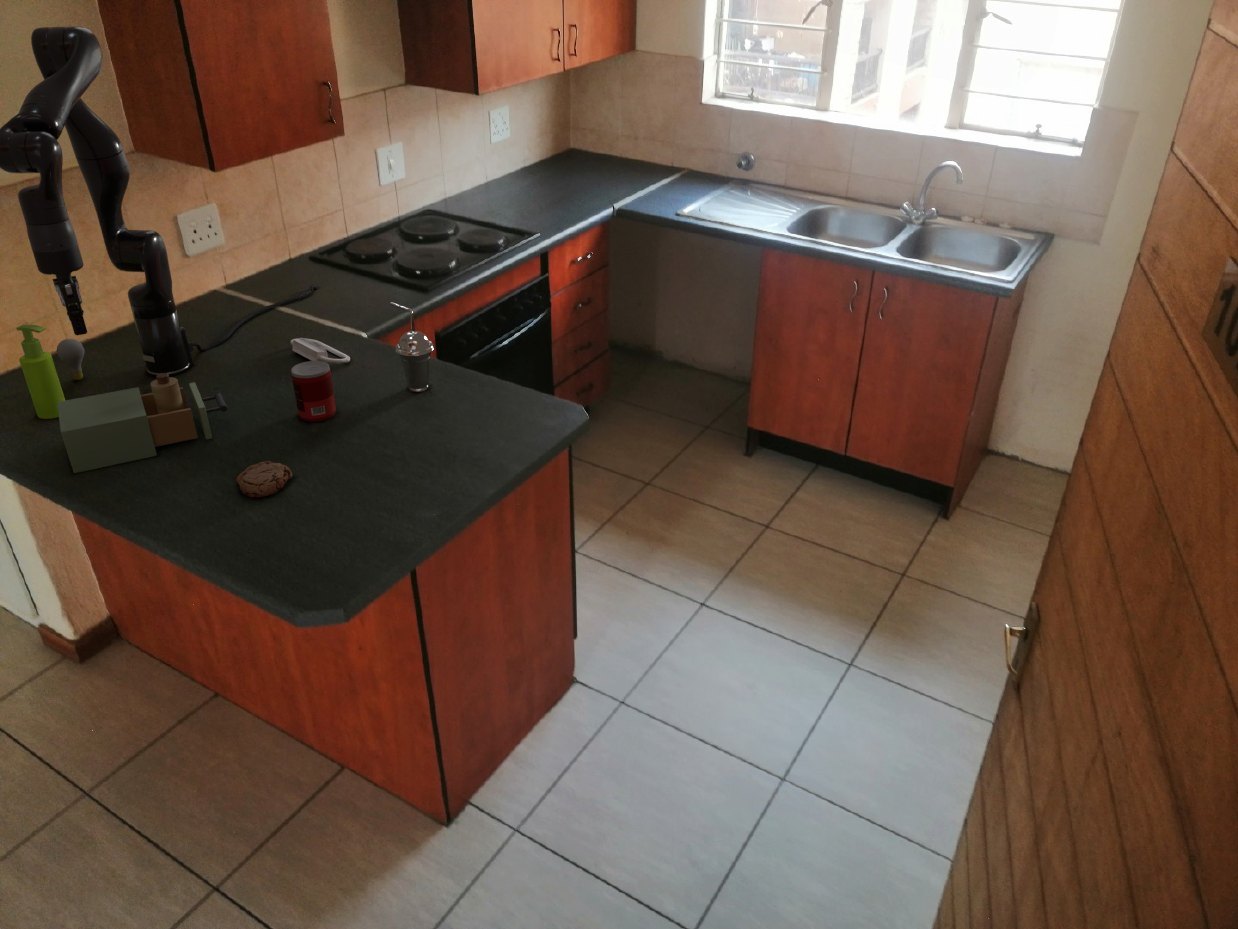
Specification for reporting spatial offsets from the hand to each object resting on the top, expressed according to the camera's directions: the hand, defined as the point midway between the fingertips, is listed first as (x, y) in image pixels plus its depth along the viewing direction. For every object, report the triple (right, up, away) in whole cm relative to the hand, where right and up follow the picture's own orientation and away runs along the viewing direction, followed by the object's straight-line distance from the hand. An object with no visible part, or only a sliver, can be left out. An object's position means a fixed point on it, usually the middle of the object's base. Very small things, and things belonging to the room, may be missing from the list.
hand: (78, 327), depth 181 cm
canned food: (+39, -16, +23) cm, 48 cm away
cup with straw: (+58, -9, +35) cm, 68 cm away
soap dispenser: (-18, -16, +22) cm, 32 cm away
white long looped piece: (+30, 0, +51) cm, 59 cm away
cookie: (+37, -30, -3) cm, 48 cm away
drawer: (+14, -19, +14) cm, 27 cm away
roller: (+13, -19, +12) cm, 26 cm away
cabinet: (+2, -23, +8) cm, 25 cm away
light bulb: (-21, -7, +37) cm, 43 cm away
